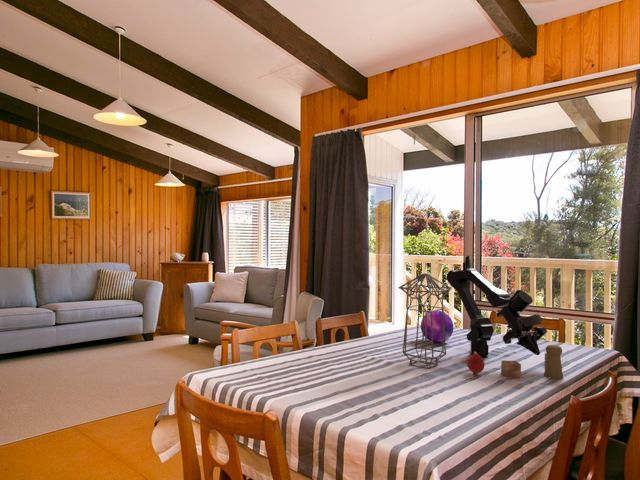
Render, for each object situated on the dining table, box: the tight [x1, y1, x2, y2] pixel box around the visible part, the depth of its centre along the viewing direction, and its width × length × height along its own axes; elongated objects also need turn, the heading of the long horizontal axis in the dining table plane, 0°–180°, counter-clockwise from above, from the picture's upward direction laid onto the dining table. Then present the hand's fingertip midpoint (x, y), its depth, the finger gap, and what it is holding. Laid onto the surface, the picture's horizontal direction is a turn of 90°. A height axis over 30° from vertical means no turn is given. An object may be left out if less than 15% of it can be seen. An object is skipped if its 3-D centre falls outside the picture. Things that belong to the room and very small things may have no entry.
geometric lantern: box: [398, 272, 453, 370], centre depth 177 cm, size 16×16×35 cm
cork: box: [543, 344, 564, 380], centre depth 165 cm, size 6×6×11 cm
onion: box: [466, 352, 485, 375], centre depth 166 cm, size 6×6×8 cm
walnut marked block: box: [500, 359, 522, 380], centre depth 164 cm, size 5×5×5 cm
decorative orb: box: [420, 310, 454, 344], centre depth 220 cm, size 15×15×15 cm
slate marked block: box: [544, 350, 547, 367], centre depth 181 cm, size 5×5×5 cm
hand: (538, 354), depth 170 cm, fingers closed
